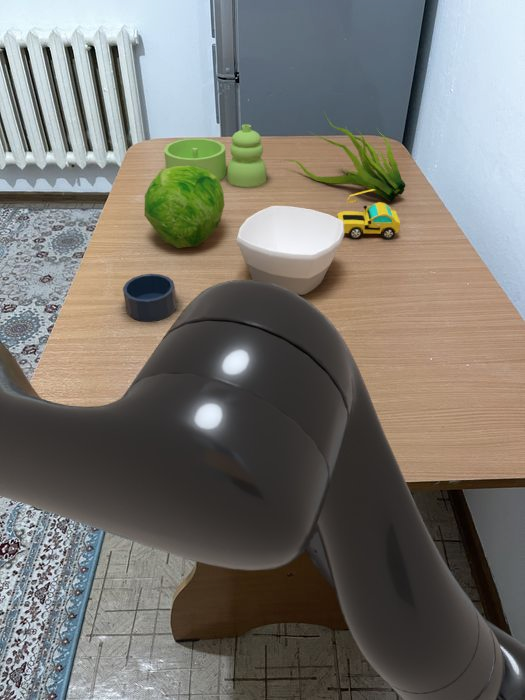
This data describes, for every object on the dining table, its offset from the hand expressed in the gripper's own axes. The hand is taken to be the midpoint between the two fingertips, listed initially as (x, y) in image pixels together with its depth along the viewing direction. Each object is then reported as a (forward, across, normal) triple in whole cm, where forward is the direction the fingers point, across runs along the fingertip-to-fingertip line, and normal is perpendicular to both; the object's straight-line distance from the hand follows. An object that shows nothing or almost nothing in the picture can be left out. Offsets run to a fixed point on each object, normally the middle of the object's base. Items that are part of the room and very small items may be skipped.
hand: (254, 419), depth 61 cm
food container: (+84, -38, +10) cm, 93 cm away
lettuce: (+62, -20, +10) cm, 65 cm away
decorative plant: (+64, -60, +10) cm, 89 cm away
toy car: (+42, -51, +10) cm, 67 cm away
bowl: (+36, -28, +10) cm, 47 cm away
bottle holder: (+39, -3, +10) cm, 41 cm away
